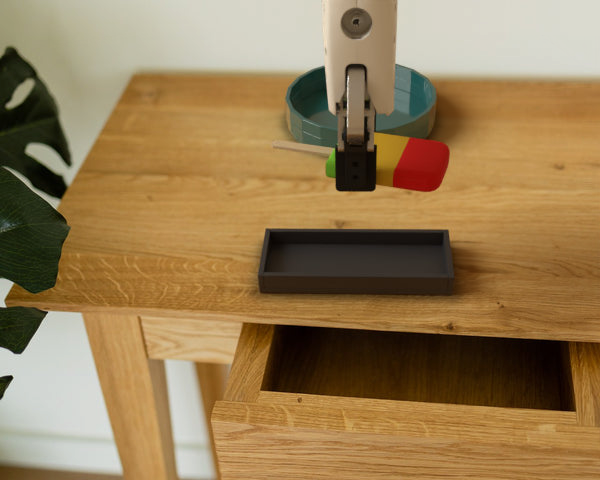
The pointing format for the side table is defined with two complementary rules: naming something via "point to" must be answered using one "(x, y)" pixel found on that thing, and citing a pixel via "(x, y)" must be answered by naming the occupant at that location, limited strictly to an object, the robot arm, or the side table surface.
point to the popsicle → (393, 161)
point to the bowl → (407, 99)
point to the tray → (356, 261)
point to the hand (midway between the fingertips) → (356, 163)
